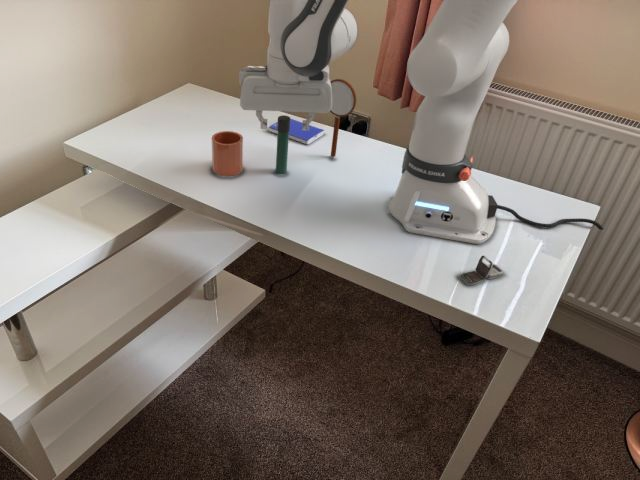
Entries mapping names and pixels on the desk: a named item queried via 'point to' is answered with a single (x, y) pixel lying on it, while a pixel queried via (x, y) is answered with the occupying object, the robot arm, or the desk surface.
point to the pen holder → (227, 153)
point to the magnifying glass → (341, 106)
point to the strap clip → (482, 272)
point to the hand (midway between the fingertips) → (284, 128)
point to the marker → (282, 144)
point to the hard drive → (300, 132)
